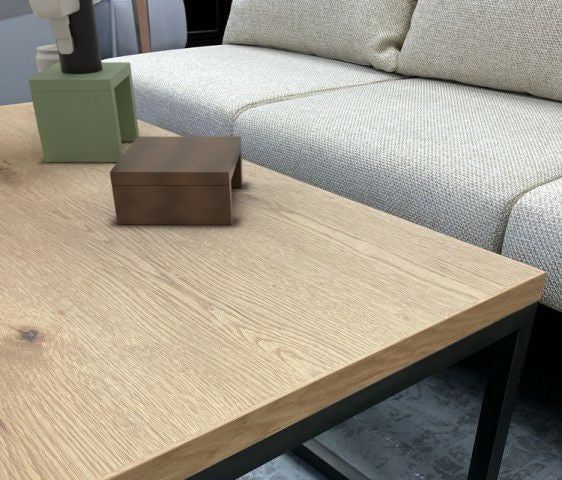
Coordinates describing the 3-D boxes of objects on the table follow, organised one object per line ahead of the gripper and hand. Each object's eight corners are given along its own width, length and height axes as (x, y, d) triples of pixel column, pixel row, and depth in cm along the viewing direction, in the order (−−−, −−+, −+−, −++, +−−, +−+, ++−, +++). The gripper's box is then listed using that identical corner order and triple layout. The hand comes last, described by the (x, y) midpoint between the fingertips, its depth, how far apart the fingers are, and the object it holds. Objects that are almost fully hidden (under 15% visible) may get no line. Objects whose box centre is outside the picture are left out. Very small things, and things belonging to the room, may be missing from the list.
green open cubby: (44, 162, 99) (27, 79, 93) (69, 138, 109) (56, 62, 103) (121, 162, 98) (109, 79, 92) (139, 138, 108) (130, 62, 102)
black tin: (56, 74, 95) (42, -1, 90) (68, 66, 100) (56, -5, 95) (96, 74, 95) (85, -1, 90) (107, 66, 100) (96, -6, 95)
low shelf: (117, 224, 79) (109, 171, 76) (143, 183, 91) (137, 136, 87) (231, 225, 78) (228, 171, 75) (243, 183, 90) (241, 136, 87)
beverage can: (96, 122, 117) (84, 44, 110) (72, 132, 112) (57, 50, 105) (66, 119, 119) (52, 41, 112) (40, 128, 114) (24, 48, 108)
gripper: (59, -75, 97) (76, 35, 105) (4, -70, 80) (29, 60, 88) (104, -75, 97) (118, 35, 104) (58, -71, 80) (79, 60, 87)
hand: (77, 47), depth 96 cm, fingers open, 8 cm apart
